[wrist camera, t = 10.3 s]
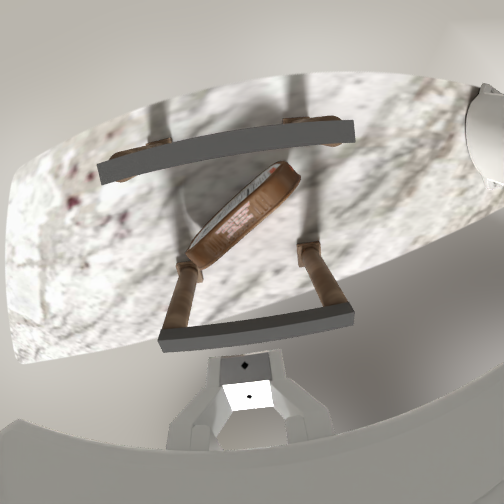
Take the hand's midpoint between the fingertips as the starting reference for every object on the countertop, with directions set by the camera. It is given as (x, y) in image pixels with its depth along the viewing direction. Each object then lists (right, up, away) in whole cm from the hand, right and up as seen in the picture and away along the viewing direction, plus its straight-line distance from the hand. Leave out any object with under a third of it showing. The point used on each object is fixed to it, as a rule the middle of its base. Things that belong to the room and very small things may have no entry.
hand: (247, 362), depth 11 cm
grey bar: (-2, +12, +7) cm, 14 cm away
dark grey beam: (0, -2, +14) cm, 14 cm away
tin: (-1, +11, +22) cm, 25 cm away
